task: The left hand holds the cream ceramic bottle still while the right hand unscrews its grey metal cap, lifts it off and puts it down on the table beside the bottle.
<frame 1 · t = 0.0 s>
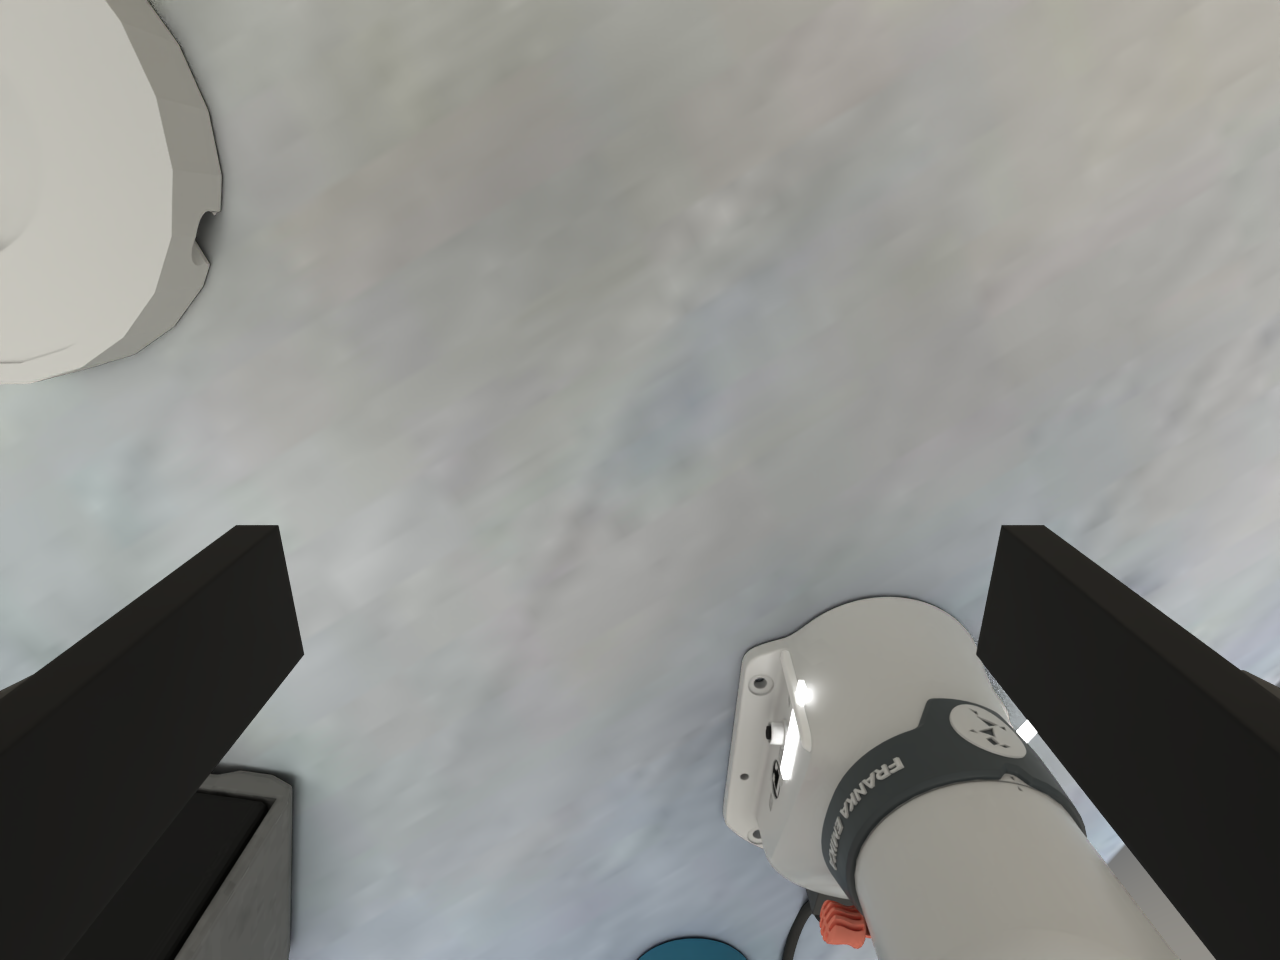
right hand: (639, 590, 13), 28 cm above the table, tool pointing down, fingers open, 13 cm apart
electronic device: (76, 846, 52), on the table
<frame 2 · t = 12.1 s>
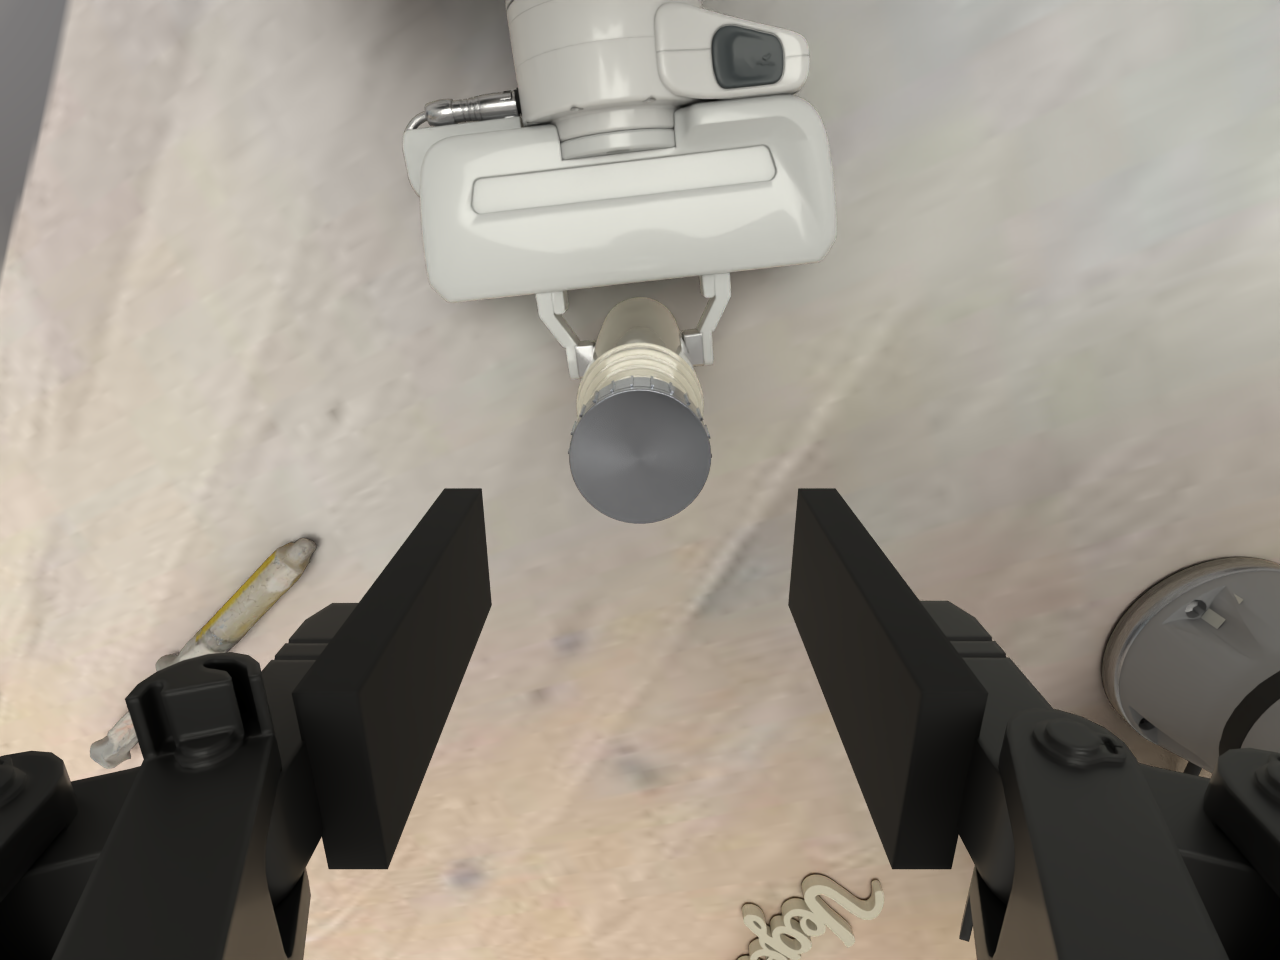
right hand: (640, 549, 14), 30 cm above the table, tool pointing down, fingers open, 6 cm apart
left hand: (642, 370, 37), fingers closed on bottle, 5 cm apart
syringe: (213, 648, 50), on the table
bottle: (639, 336, 42), on the table, touching left hand
cap: (640, 455, 20), point 23 cm above the table, screwed on, not yet turned
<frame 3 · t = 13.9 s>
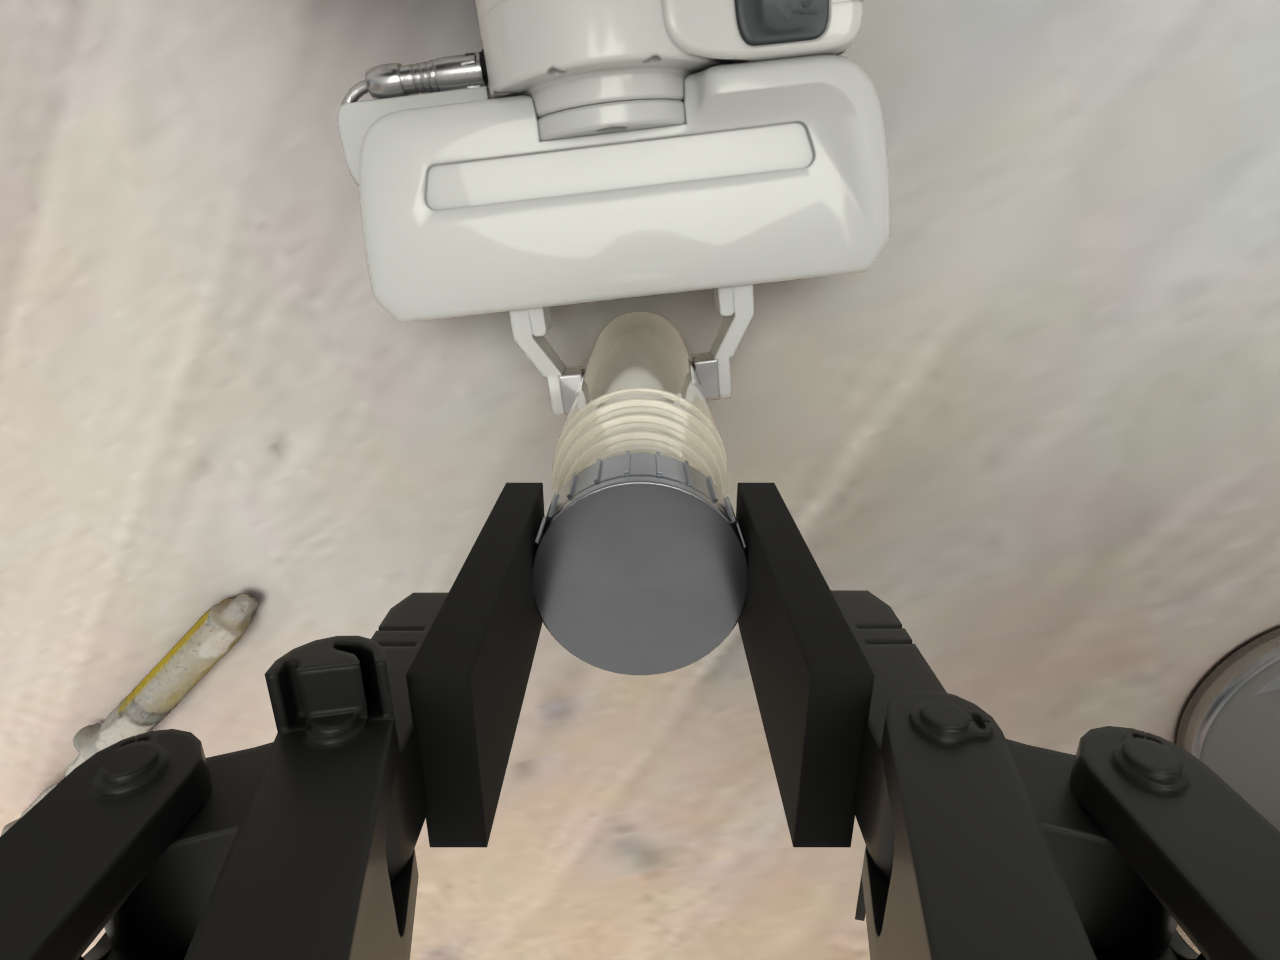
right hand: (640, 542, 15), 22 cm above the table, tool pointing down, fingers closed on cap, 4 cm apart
left hand: (643, 404, 30), fingers closed on bottle, 5 cm apart
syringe: (143, 716, 43), on the table
bottle: (639, 358, 35), on the table, touching left hand
cap: (640, 576, 13), point 23 cm above the table, screwed on, not yet turned, touching right hand
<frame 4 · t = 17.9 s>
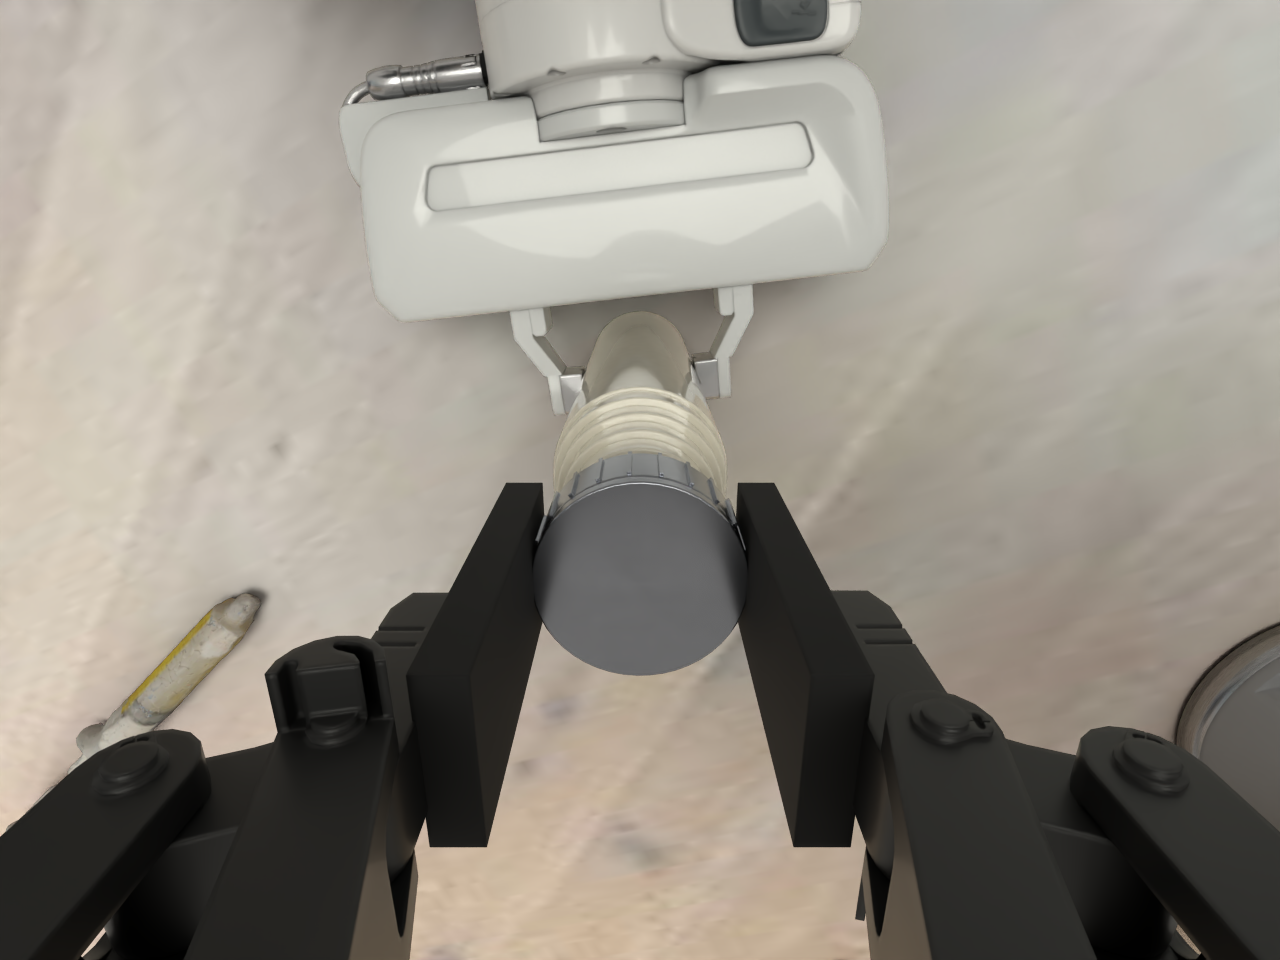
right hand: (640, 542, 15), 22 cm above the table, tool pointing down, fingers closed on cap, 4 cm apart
left hand: (643, 403, 30), fingers closed on bottle, 5 cm apart
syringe: (146, 716, 43), on the table
bottle: (640, 358, 35), on the table, touching left hand
cap: (640, 576, 13), point 24 cm above the table, turned 130° so far, risen 0.1 cm, still on its thread, touching right hand
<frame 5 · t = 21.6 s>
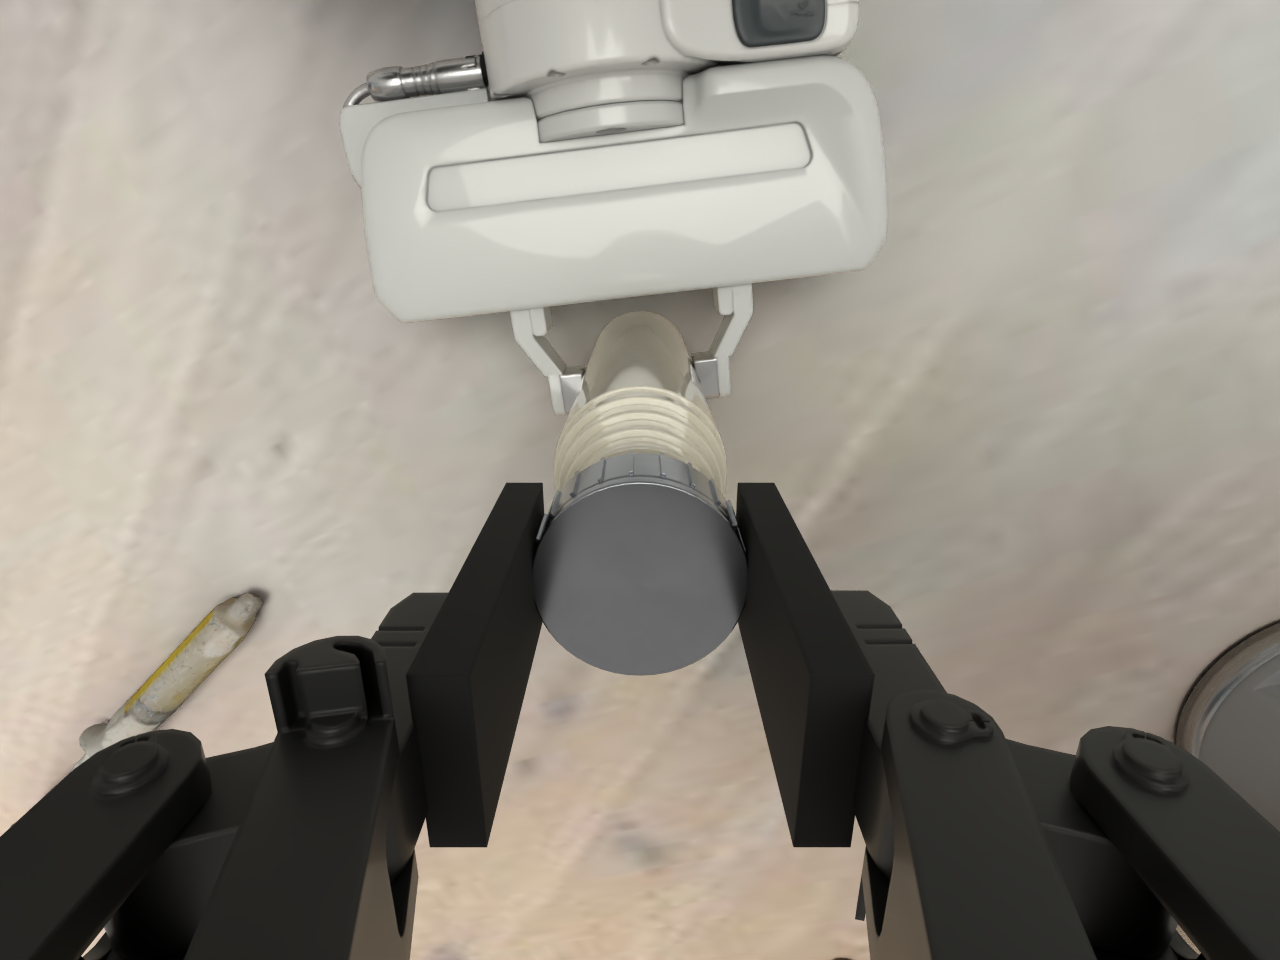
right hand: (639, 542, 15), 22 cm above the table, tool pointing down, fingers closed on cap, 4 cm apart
left hand: (643, 403, 30), fingers closed on bottle, 5 cm apart
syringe: (148, 715, 43), on the table
bottle: (640, 358, 35), on the table, touching left hand
cap: (640, 576, 13), point 24 cm above the table, turned 260° so far, risen 0.2 cm, still on its thread, touching right hand
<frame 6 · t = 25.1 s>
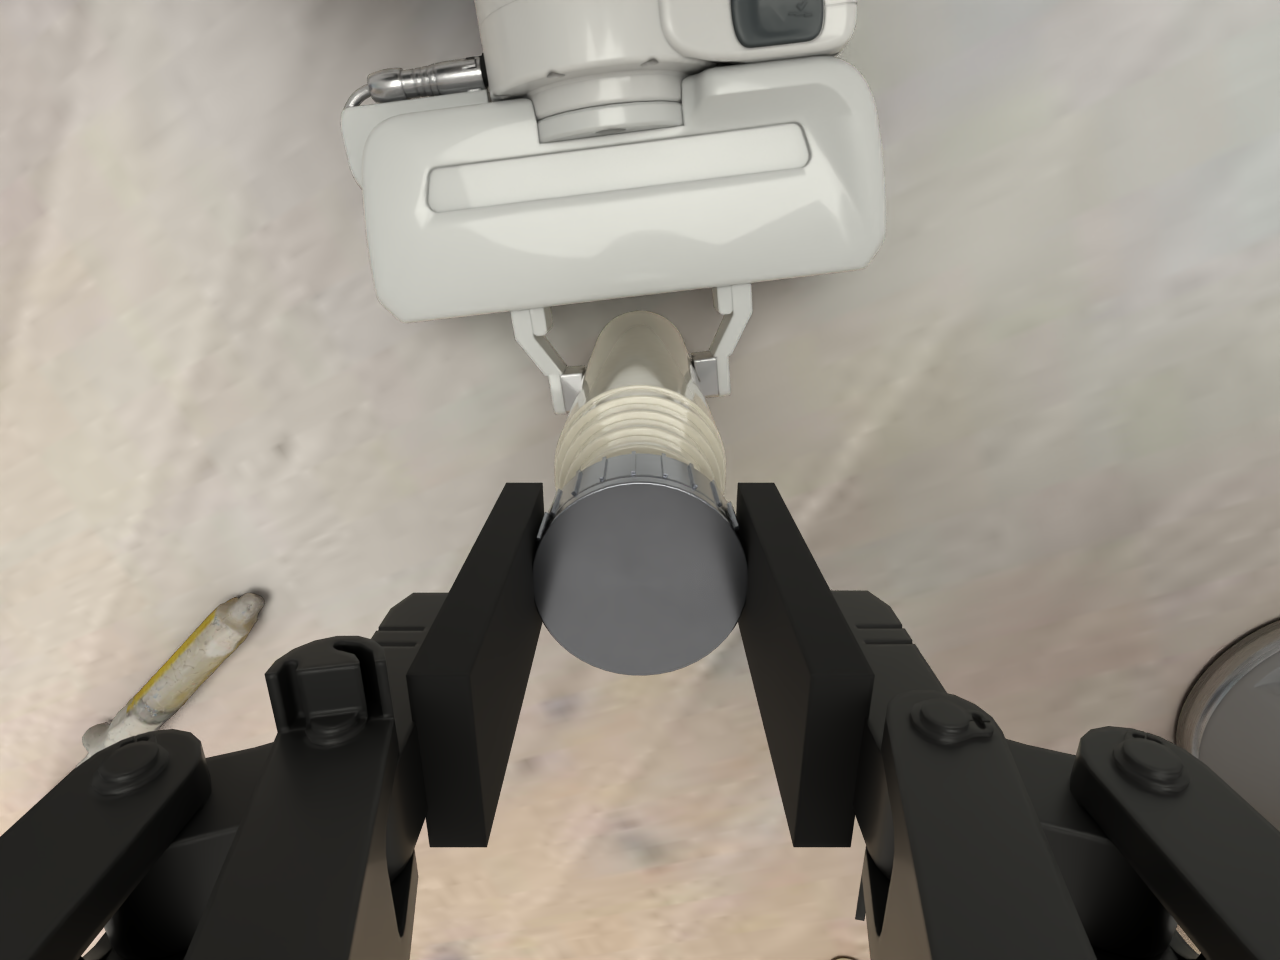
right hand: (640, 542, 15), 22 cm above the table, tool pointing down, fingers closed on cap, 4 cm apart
left hand: (643, 402, 30), fingers closed on bottle, 5 cm apart
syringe: (151, 715, 43), on the table
bottle: (640, 357, 36), on the table, touching left hand
cap: (640, 576, 13), point 24 cm above the table, turned 389° so far, risen 0.4 cm, still on its thread, touching right hand
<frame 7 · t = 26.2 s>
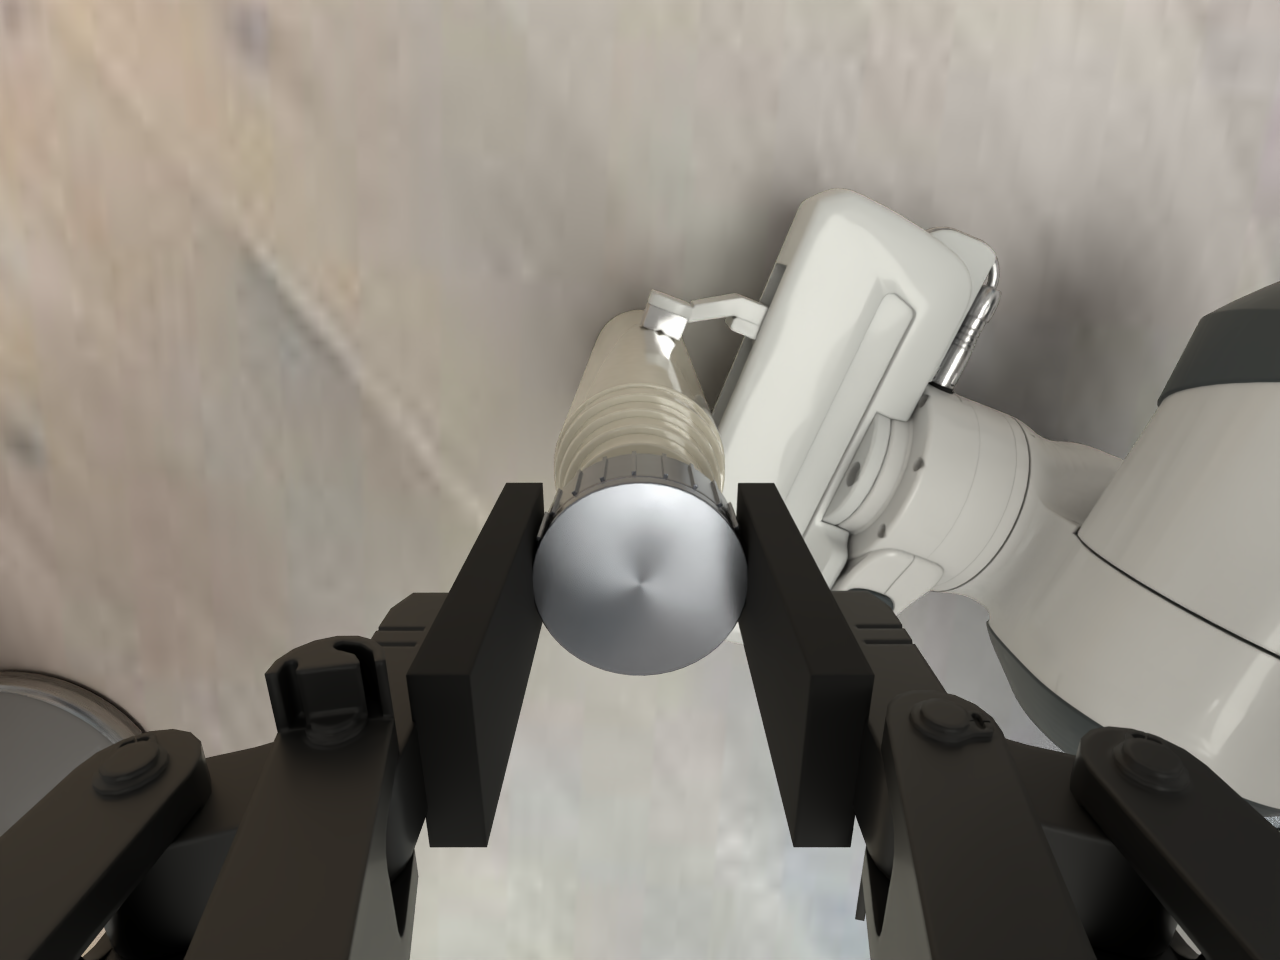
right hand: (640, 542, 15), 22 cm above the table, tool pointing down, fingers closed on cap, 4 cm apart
bottle: (639, 356, 36), on the table, touching left hand
cap: (640, 576, 13), point 24 cm above the table, off its thread, touching right hand
when the right hand's fingers open (2 cm above the table, at t = 33.1 s): cap drops 2 cm, point 1 cm above the table.
when the left hand's fingers open (6 cm above the table, at t = 34.4 s): bottle stays where it is, on the table.
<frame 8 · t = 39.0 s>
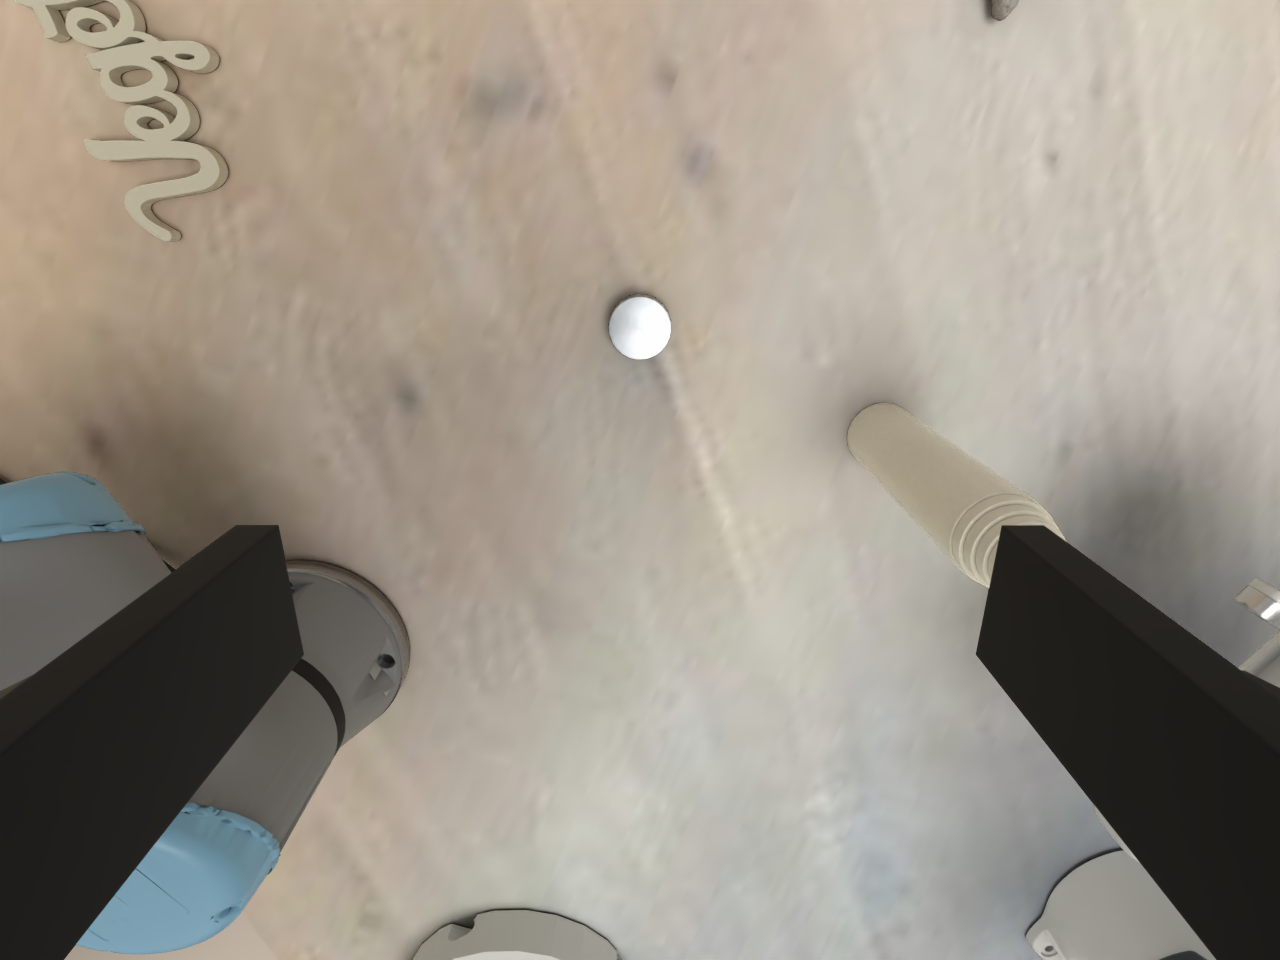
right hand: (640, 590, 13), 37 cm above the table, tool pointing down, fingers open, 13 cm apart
bottle: (880, 434, 50), on the table
cap: (640, 328, 46), point 1 cm above the table, off its thread
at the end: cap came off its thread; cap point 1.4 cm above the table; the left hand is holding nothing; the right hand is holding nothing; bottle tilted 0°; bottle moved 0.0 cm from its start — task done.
